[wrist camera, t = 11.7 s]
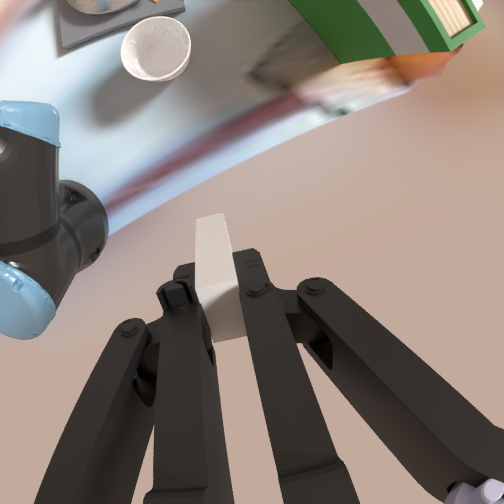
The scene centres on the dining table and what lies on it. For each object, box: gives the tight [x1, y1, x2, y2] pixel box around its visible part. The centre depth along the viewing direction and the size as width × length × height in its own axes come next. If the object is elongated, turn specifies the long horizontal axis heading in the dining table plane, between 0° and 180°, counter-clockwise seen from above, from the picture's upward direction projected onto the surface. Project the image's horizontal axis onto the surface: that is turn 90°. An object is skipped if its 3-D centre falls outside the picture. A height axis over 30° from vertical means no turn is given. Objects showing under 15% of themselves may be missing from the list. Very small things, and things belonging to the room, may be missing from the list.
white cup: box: [120, 16, 191, 82], centre depth 31 cm, size 8×8×10 cm
